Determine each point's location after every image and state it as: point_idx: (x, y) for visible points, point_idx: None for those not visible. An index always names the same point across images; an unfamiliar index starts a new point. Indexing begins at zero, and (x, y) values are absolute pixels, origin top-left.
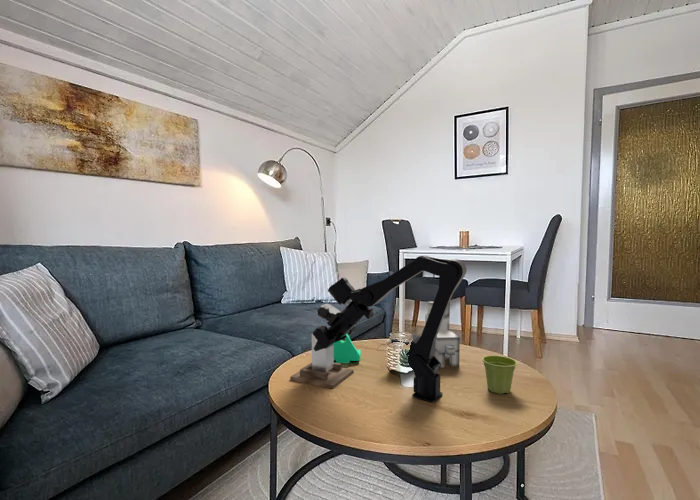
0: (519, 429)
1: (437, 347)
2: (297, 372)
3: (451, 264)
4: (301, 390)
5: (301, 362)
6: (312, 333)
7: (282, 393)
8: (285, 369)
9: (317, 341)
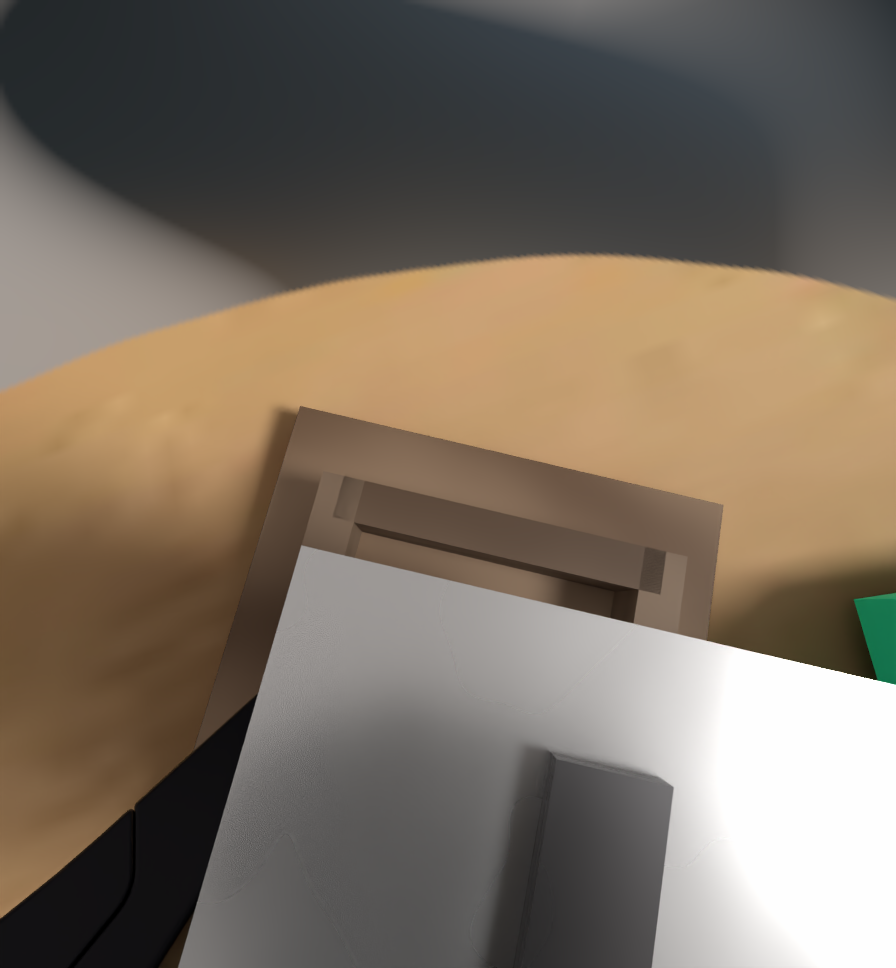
0: None
1: None
2: (418, 434)
3: None
4: (87, 596)
5: (748, 367)
6: (357, 564)
7: (9, 455)
8: (537, 292)
9: (110, 835)
